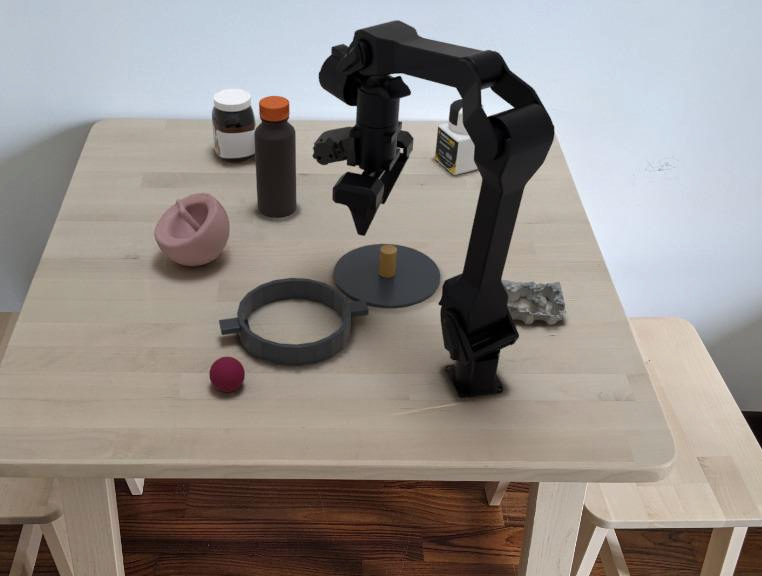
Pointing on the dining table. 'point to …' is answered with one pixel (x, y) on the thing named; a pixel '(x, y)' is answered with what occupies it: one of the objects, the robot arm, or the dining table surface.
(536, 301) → the egg carton
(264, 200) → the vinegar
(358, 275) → the pot lid
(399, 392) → the dining table surface
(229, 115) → the spread jar
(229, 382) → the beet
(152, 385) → the dining table surface
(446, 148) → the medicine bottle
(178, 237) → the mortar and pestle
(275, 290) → the pot
